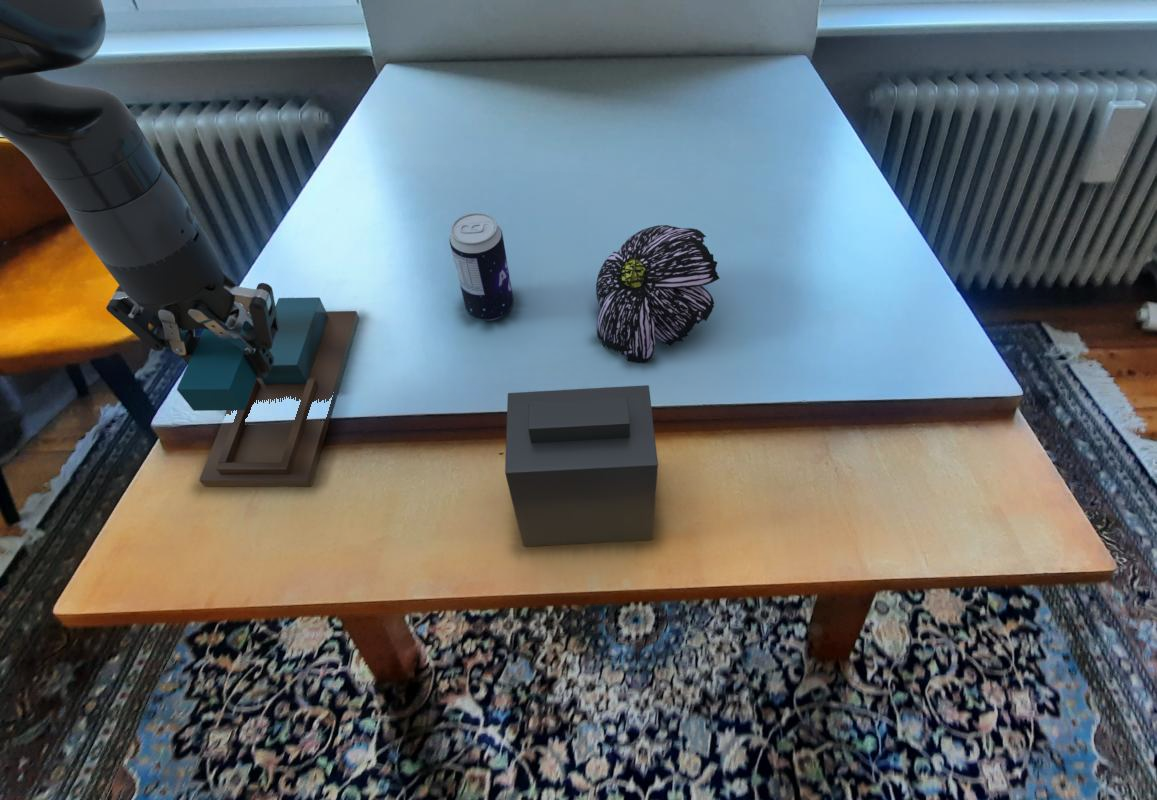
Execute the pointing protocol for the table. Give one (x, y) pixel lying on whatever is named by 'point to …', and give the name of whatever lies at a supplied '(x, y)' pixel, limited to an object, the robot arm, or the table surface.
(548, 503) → the pad stand
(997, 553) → the table surface
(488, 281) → the beverage can
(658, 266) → the decorative flower
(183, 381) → the back pad
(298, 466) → the brown flat rectangular board
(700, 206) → the table surface
